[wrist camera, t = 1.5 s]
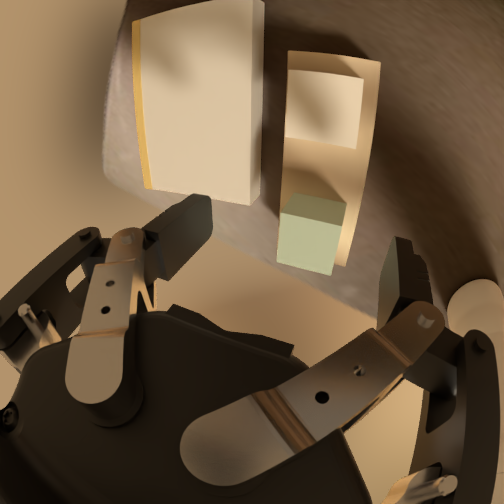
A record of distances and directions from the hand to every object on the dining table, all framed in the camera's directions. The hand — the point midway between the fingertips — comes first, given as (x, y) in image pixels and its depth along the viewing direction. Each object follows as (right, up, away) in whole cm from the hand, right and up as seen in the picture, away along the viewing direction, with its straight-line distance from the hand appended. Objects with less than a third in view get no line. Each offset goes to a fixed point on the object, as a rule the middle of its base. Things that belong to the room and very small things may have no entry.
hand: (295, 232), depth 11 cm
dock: (-7, +13, +11) cm, 18 cm away
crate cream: (+3, +9, +4) cm, 10 cm away
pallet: (+5, +7, +10) cm, 13 cm away
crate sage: (+3, +1, +9) cm, 10 cm away
